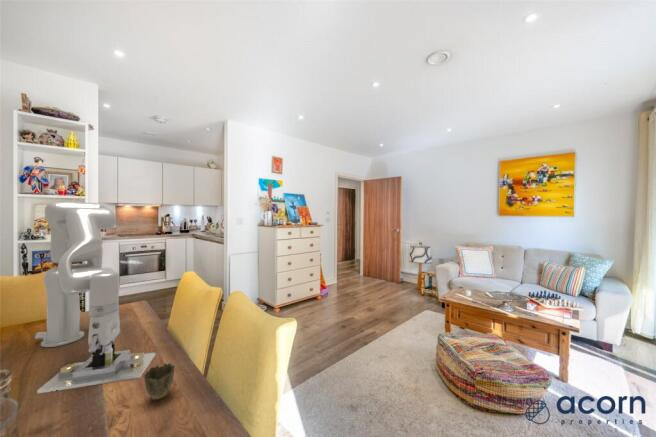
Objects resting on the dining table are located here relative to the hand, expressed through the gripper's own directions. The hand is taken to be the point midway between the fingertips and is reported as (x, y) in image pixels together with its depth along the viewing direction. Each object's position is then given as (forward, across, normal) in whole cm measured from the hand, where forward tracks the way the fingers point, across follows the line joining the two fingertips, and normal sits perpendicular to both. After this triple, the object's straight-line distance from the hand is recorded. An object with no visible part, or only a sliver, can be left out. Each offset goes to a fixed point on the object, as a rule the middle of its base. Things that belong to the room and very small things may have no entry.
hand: (103, 360), depth 85 cm
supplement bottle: (+3, 0, 0) cm, 3 cm away
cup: (+4, -19, -22) cm, 29 cm away
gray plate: (+4, 0, 0) cm, 4 cm away
